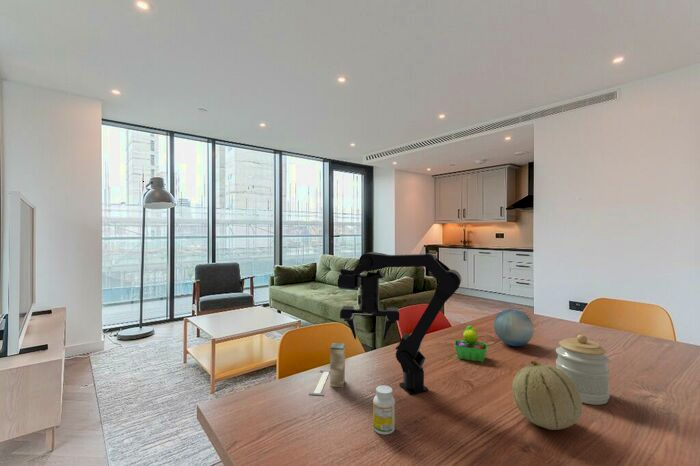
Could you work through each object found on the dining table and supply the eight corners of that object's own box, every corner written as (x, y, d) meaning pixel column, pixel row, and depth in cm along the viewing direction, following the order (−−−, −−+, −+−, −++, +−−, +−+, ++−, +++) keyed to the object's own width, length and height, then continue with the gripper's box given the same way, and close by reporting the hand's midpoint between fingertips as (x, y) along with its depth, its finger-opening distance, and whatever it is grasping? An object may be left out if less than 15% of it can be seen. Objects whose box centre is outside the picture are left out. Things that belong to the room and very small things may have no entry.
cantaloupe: (584, 452, 70) (584, 383, 70) (509, 430, 78) (509, 368, 77) (579, 418, 82) (579, 360, 82) (514, 402, 90) (515, 349, 90)
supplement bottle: (387, 438, 74) (387, 397, 74) (368, 429, 78) (368, 389, 78) (399, 427, 78) (399, 388, 78) (381, 419, 82) (381, 381, 82)
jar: (594, 410, 86) (595, 345, 86) (546, 389, 98) (546, 331, 97) (618, 399, 92) (619, 337, 92) (570, 380, 104) (570, 325, 103)
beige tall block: (344, 380, 103) (344, 343, 102) (342, 386, 99) (343, 348, 99) (332, 380, 103) (332, 342, 103) (330, 386, 99) (330, 347, 99)
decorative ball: (534, 343, 137) (534, 308, 137) (532, 354, 125) (532, 316, 125) (496, 336, 145) (496, 303, 145) (491, 347, 133) (491, 310, 133)
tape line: (320, 370, 110) (320, 370, 110) (333, 371, 109) (333, 371, 109) (308, 394, 94) (308, 394, 94) (323, 395, 93) (323, 395, 93)
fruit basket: (454, 359, 120) (454, 329, 120) (455, 351, 128) (455, 322, 128) (487, 364, 116) (487, 333, 116) (486, 355, 124) (486, 326, 124)
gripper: (398, 287, 110) (398, 333, 110) (344, 286, 112) (344, 330, 112) (399, 294, 99) (399, 344, 99) (339, 292, 101) (339, 341, 101)
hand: (369, 339), depth 103 cm, fingers open, 9 cm apart
